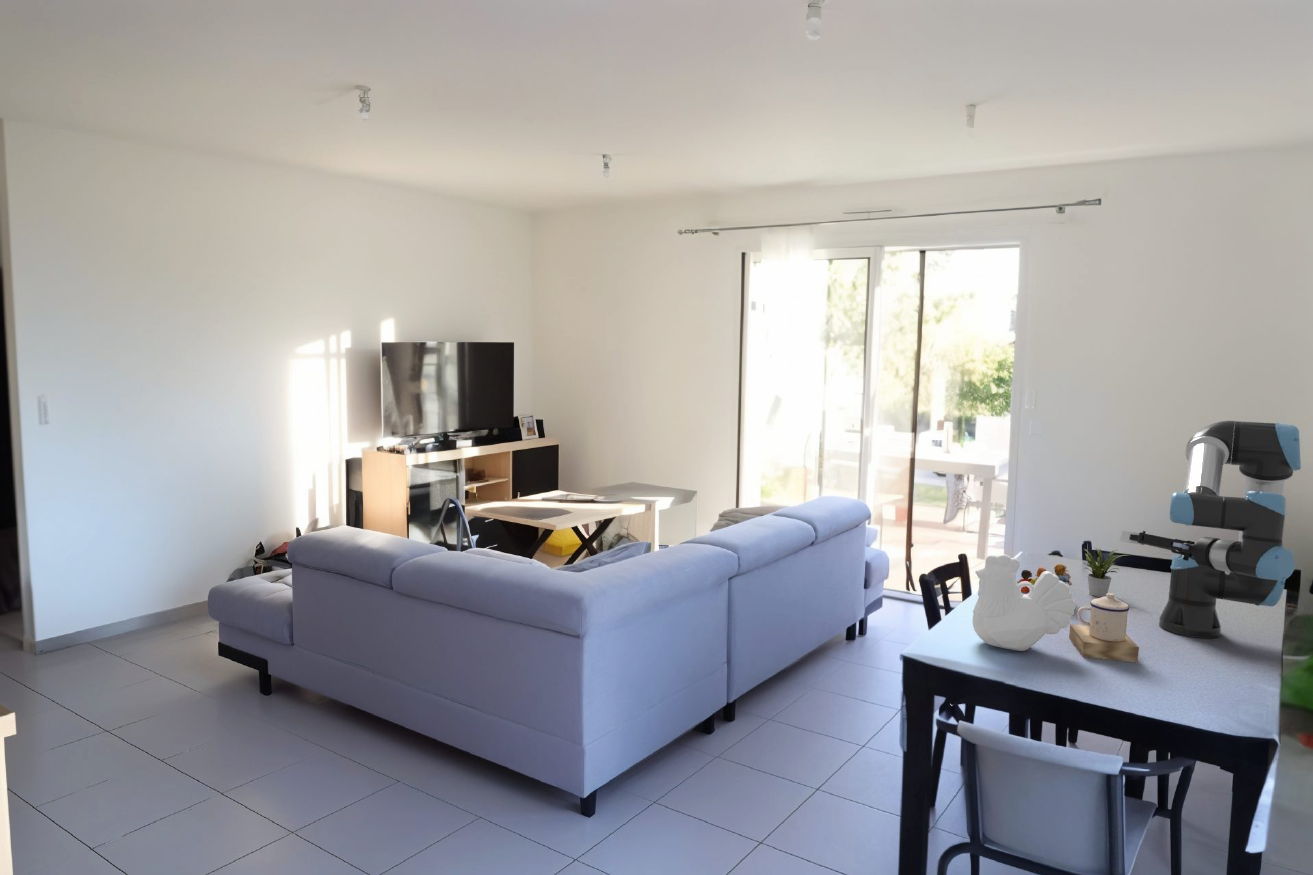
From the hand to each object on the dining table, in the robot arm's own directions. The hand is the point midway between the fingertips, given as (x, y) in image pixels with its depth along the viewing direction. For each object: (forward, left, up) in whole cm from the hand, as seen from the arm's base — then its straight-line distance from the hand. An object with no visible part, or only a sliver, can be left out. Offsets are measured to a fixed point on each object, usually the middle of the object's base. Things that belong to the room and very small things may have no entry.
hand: (1140, 541), depth 223 cm
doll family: (+12, -41, -31) cm, 53 cm away
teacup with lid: (+7, -1, -26) cm, 27 cm away
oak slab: (+7, -1, -30) cm, 31 cm away
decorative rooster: (+28, +5, -30) cm, 42 cm away
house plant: (-8, -60, -30) cm, 68 cm away
